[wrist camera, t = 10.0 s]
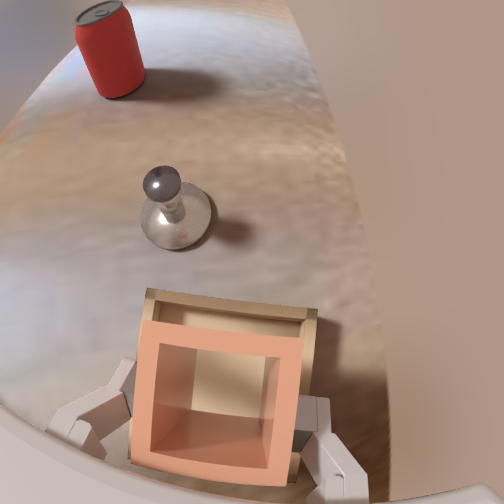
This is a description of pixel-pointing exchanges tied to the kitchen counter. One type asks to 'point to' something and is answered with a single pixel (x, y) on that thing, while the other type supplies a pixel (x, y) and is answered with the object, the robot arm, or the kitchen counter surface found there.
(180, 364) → the collar
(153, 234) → the silver knob
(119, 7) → the beer can
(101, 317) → the kitchen counter surface
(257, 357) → the tray
